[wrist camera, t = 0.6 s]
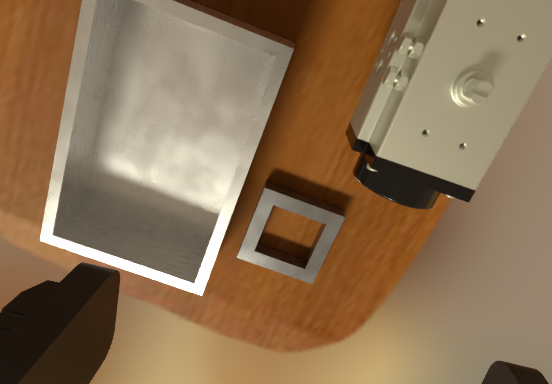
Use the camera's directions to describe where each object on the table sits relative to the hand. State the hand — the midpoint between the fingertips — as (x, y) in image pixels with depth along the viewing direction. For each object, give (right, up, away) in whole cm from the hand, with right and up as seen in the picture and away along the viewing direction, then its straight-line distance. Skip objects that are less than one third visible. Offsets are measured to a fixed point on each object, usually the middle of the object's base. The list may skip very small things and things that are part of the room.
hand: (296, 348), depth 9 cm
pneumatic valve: (+7, +12, +18) cm, 23 cm away
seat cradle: (-7, +7, +20) cm, 23 cm away
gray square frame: (+1, 0, +23) cm, 23 cm away
